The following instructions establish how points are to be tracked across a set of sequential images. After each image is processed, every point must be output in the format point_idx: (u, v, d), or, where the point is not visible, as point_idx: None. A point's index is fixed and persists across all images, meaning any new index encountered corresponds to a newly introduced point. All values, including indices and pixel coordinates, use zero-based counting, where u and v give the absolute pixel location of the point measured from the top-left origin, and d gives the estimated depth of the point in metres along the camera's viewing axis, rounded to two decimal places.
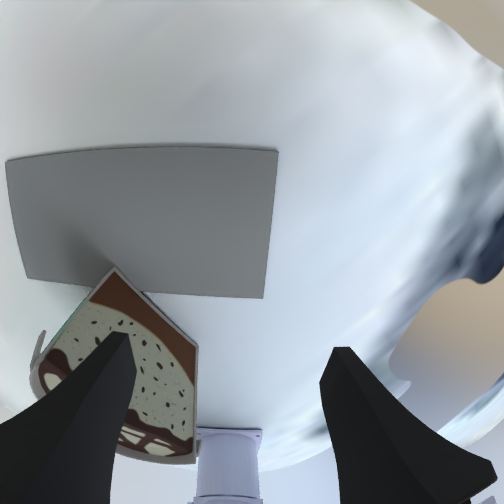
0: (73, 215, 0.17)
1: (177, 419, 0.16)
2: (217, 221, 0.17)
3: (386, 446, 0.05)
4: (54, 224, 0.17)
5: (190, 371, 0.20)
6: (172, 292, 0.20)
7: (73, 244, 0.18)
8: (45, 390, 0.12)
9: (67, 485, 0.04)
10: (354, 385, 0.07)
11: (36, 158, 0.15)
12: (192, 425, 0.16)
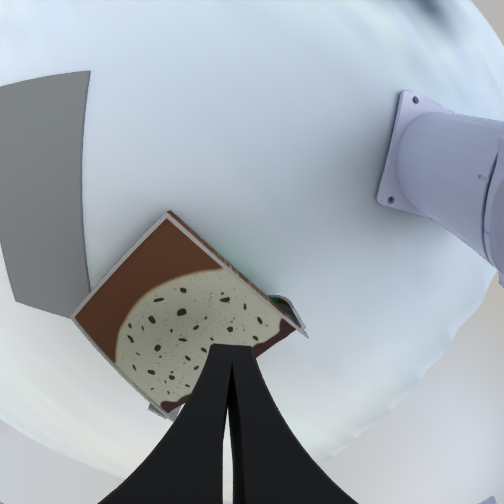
0: (31, 248, 0.18)
1: (251, 326, 0.15)
2: (24, 122, 0.14)
3: (242, 461, 0.05)
4: (40, 269, 0.19)
5: (200, 259, 0.14)
6: (78, 164, 0.16)
7: (50, 256, 0.19)
8: None
9: None
10: (234, 388, 0.07)
11: (7, 269, 0.19)
12: (270, 307, 0.15)
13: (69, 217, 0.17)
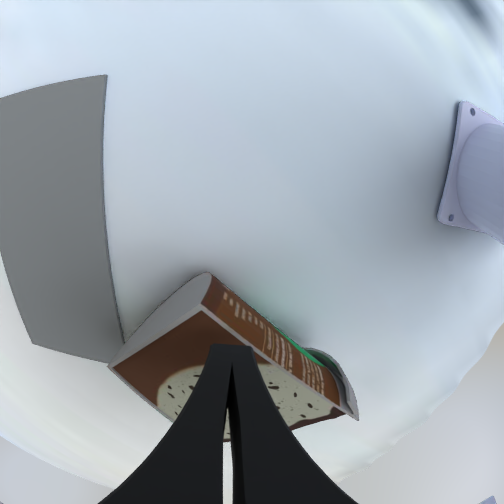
0: (47, 288, 0.16)
1: (300, 408, 0.12)
2: (26, 142, 0.12)
3: (241, 461, 0.05)
4: (60, 311, 0.17)
5: None
6: (99, 191, 0.14)
7: (71, 298, 0.17)
8: None
9: None
10: (234, 388, 0.07)
11: (19, 311, 0.17)
12: (323, 397, 0.12)
13: (92, 254, 0.15)
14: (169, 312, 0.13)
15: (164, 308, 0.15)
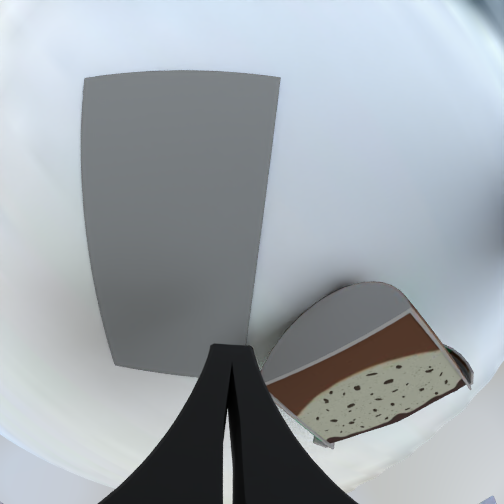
0: (159, 306, 0.17)
1: (438, 386, 0.13)
2: (158, 134, 0.13)
3: (242, 461, 0.05)
4: (171, 330, 0.18)
5: (425, 344, 0.12)
6: (262, 202, 0.14)
7: (193, 315, 0.17)
8: None
9: None
10: (234, 387, 0.07)
11: (106, 331, 0.18)
12: (457, 372, 0.13)
13: (237, 268, 0.16)
14: (347, 321, 0.14)
15: (322, 318, 0.16)
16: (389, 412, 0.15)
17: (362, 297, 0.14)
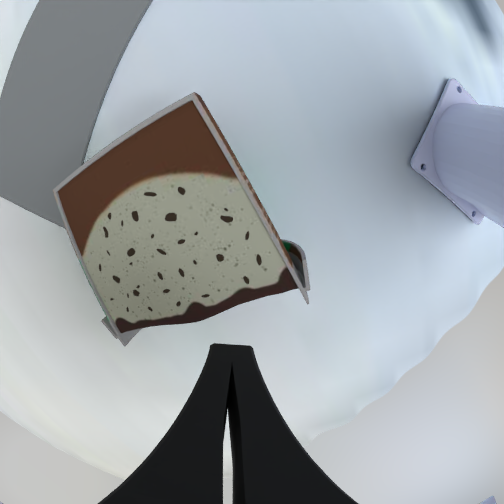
0: (29, 121, 0.14)
1: (246, 263, 0.12)
2: None
3: (241, 461, 0.05)
4: (30, 148, 0.15)
5: (214, 159, 0.11)
6: (127, 37, 0.12)
7: (48, 133, 0.14)
8: None
9: None
10: (234, 388, 0.07)
11: None
12: (277, 247, 0.12)
13: (91, 90, 0.14)
14: None
15: None
16: (180, 291, 0.13)
17: None
